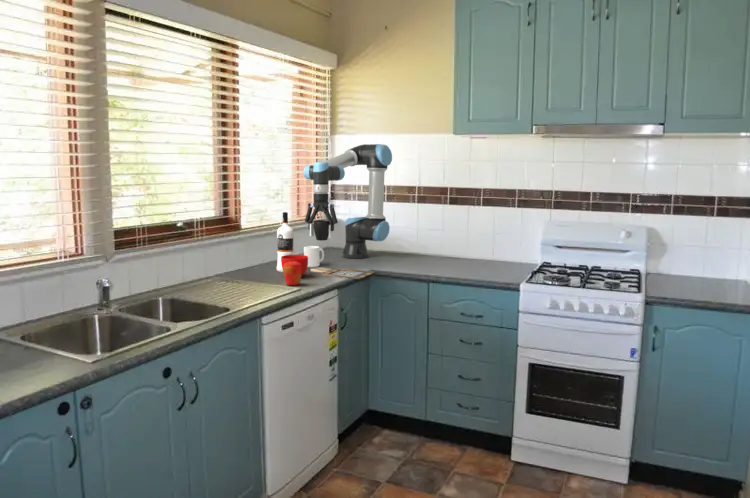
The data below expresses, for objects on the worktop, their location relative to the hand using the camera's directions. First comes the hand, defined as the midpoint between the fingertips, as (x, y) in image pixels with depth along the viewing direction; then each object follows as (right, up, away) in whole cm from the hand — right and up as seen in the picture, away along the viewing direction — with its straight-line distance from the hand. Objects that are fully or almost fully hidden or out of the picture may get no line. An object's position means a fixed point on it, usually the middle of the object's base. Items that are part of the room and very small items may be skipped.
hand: (321, 236), depth 317 cm
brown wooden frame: (+14, -19, -6) cm, 24 cm away
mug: (0, -1, 0) cm, 2 cm away
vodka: (-18, -18, +1) cm, 25 cm away
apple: (-10, -23, -33) cm, 41 cm away
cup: (-5, -15, +18) cm, 24 cm away
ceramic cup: (-11, -20, -13) cm, 26 cm away
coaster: (0, -17, +3) cm, 17 cm away
